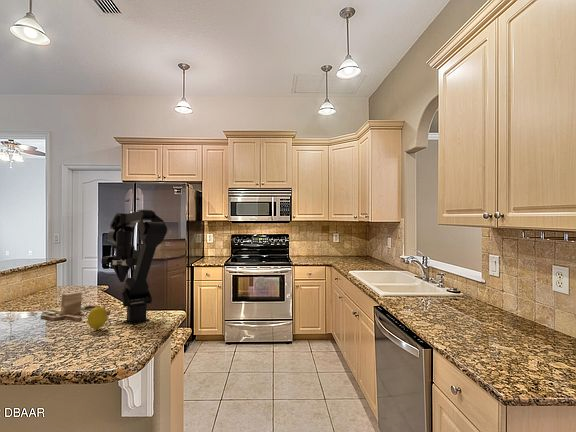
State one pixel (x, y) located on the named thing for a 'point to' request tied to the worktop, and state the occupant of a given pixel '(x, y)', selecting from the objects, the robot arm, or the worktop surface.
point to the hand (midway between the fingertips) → (122, 282)
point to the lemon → (97, 317)
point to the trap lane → (52, 315)
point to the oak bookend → (69, 304)
